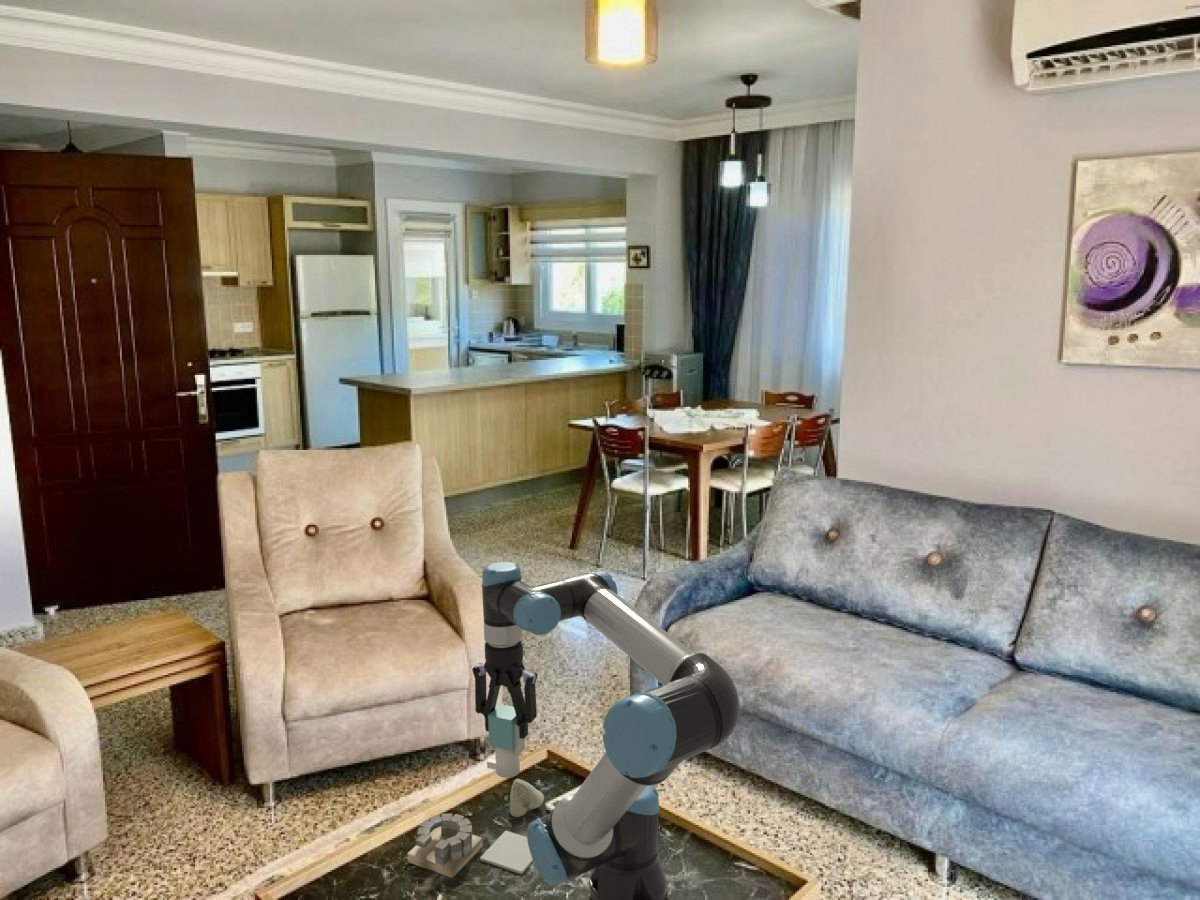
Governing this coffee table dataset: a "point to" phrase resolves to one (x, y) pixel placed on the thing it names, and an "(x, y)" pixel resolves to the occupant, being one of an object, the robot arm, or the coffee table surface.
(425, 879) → the coffee table surface
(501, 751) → the plug
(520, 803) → the seashell
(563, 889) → the coffee table surface
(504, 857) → the mat
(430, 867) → the socket
